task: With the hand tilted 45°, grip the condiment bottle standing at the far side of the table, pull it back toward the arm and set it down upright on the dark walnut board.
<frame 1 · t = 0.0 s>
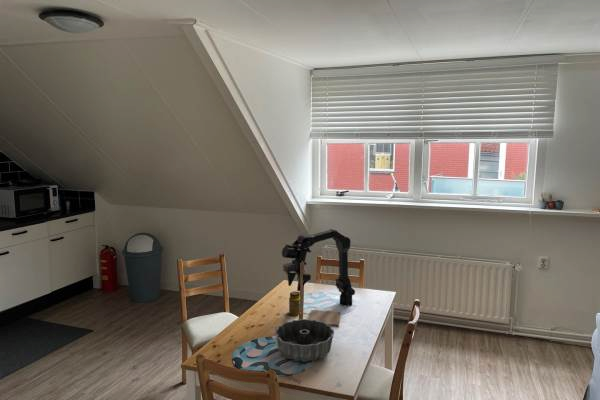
hand: (293, 288, 232), 15 cm above the table, tool pointing down, fingers open, 9 cm apart
condiment: (293, 315, 237), on the table
bundt pan: (304, 352, 197), on the table
walnut board: (324, 319, 231), on the table
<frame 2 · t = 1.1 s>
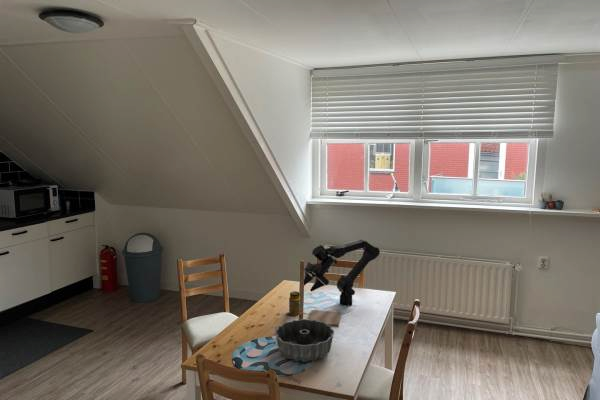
hand: (306, 288, 238), 13 cm above the table, tool tilted 45°, fingers open, 9 cm apart
nothing on the table moved.
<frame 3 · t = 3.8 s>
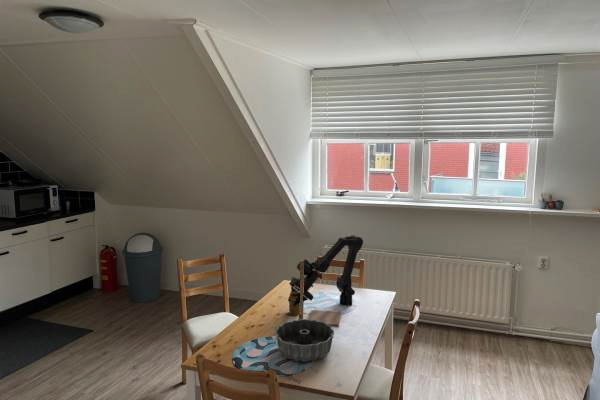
hand: (290, 303, 235), 7 cm above the table, tool tilted 45°, fingers closed on condiment, 6 cm apart
condiment: (293, 314, 237), on the table, touching gripper
everything else where it was.
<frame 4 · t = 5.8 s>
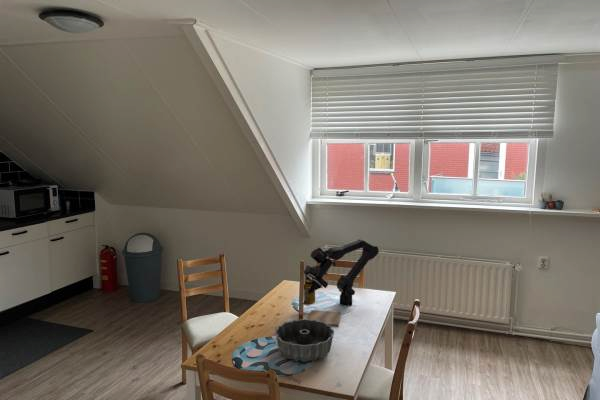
hand: (305, 291, 238), 12 cm above the table, tool tilted 45°, fingers closed on condiment, 6 cm apart
condiment: (308, 302, 240), point 5 cm above the table, touching gripper
everything else where it was.
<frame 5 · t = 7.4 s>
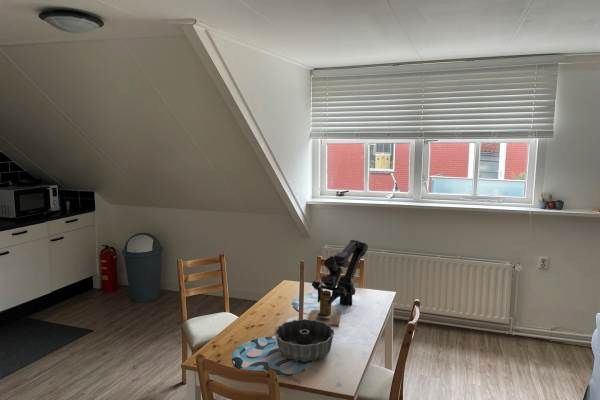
hand: (323, 303, 228), 9 cm above the table, tool tilted 45°, fingers closed on condiment, 6 cm apart
condiment: (324, 314, 231), point 2 cm above the table, touching gripper
everything else where it was.
when the fingers open (9 cm above the table, at t = 8.2 s): condiment drops 1 cm, resting on walnut board.
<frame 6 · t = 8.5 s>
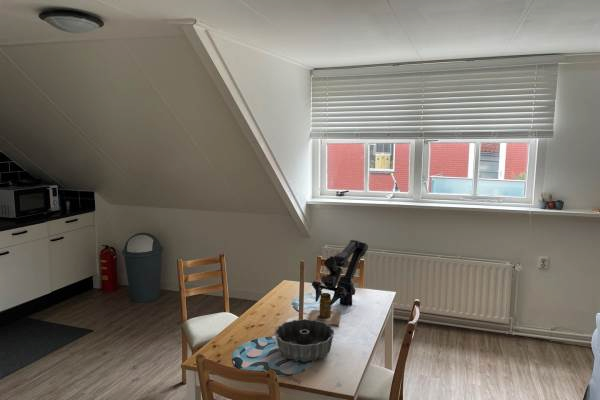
hand: (323, 303, 228), 9 cm above the table, tool tilted 45°, fingers open, 8 cm apart
condiment: (324, 317, 231), point 1 cm above the table, touching walnut board
everything else where it was.
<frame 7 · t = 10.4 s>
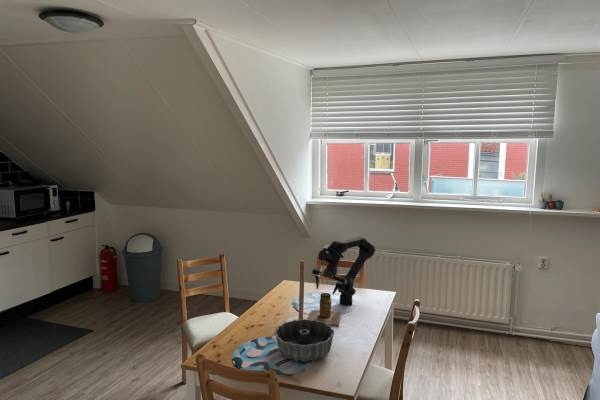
hand: (324, 291, 239), 11 cm above the table, tool tilted 25°, fingers open, 9 cm apart
nothing on the table moved.
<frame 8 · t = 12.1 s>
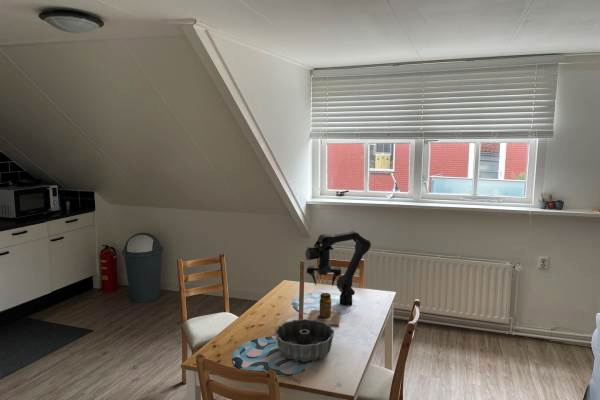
hand: (324, 285, 244), 13 cm above the table, tool pointing down, fingers open, 9 cm apart
nothing on the table moved.
at the end: condiment inside the target area on the walnut board (0.2 cm from its centre), point 1.0 cm above the walnut board's base; condiment tilted 0°; the gripper is holding nothing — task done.
